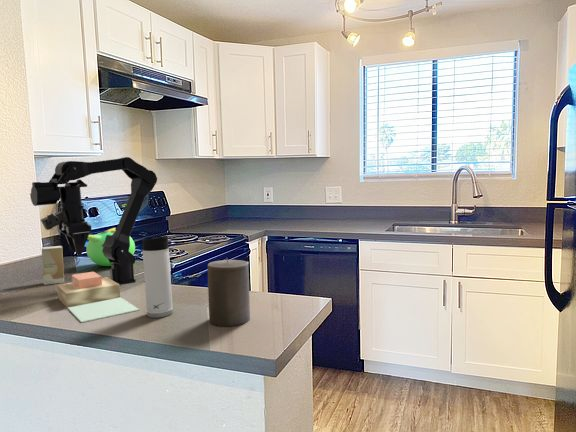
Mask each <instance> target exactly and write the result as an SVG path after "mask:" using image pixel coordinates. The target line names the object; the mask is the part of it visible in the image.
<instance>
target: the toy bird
mask: <svg viewBox="0 0 576 432" xmlns="http://www.w3.org/2000/svg"><path fill="white" fill-rule="evenodd" d="M116 229H117V227H112V228H109V229H107V230H104V231H101V232H98V233H97V234H89V236H88V238H87V240H88V242H87V244H86V247H85V248H86V250H85V251H86V255H87V257H88V258H89V260H90V261H91V262H92V263H94V264H96V265H99V266H103V267H111V264H114V263H110V262H109V260H108V258H106V257H105V256H104V254H103V252H102V250H103V247H102V245H103V244H104V242H105V239H106V236H107V235H111V236H112V235H113V234H114V233H115V231H116ZM135 251H136V244H135V241H134V240H133V238H132V237H131V236H130V247H129V252H130V253H131V254H133V255H135Z"/></svg>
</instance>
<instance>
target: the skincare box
mask: <svg viewBox="0 0 576 432" xmlns="http://www.w3.org/2000/svg"><path fill="white" fill-rule="evenodd" d="M63 256H64V255H63V246H62V245H56V246H52V245H51V246H43V247H41V261H42V262H41V264H42V265H41V266H42V277H43V278H42V279H43V280H42V281H43V285H44V286H47V285H48V286H49V285H55V284H65V274H64V273H65V272H64V257H63Z"/></svg>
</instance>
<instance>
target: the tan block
mask: <svg viewBox="0 0 576 432" xmlns="http://www.w3.org/2000/svg"><path fill="white" fill-rule="evenodd" d="M101 278H102V285H99V286H93V287H87V288H82V289H79V288H78V287H77V286H75V285H74V284H73V283H72V282H66V283H59V284H57V285H56V288H57V289H56V290H57V300H59V301H60V302H61V304H63V305H64V307H66V308H67V309H68V307H73V306H78V305H83V304H88V303H94V302H99V301H104V300H109V299H114V298H120V297H121V288H120V284H118V283H116V282H115V281H113V280H111V278H109V277H107V276H104V277H101Z"/></svg>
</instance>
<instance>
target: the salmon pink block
mask: <svg viewBox="0 0 576 432" xmlns="http://www.w3.org/2000/svg"><path fill="white" fill-rule="evenodd" d="M102 278H103V277H102V276H101V274H98V273H96V272H95V271H89V272H81V273H75V274H71V283H73V284H74V285H75V286H77V287H78V288H79V289H82V288H87V287H93V286H99V285H102Z"/></svg>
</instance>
